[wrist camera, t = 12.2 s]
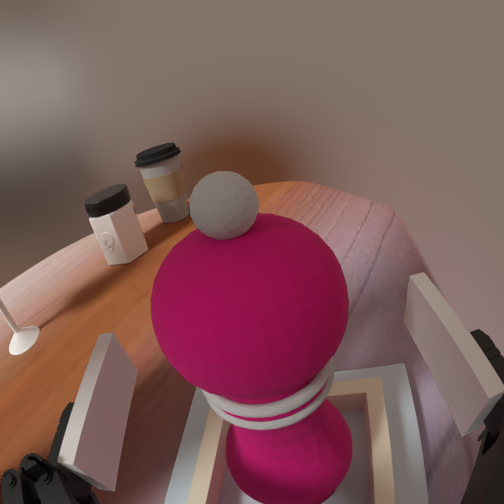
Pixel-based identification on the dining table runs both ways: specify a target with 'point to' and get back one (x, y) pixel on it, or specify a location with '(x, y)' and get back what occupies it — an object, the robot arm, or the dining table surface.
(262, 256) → the pepper mill
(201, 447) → the board
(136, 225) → the jar
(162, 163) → the coffee cup
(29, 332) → the champagne flute
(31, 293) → the dining table surface
